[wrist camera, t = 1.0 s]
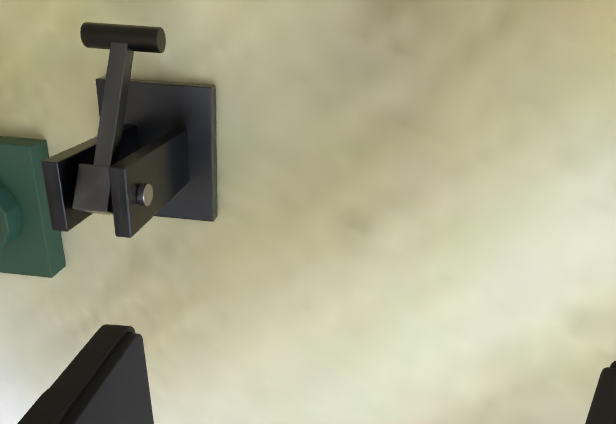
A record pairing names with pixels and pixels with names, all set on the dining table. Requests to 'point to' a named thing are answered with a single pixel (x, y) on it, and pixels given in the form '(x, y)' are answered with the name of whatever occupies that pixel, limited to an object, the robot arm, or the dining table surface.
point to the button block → (26, 211)
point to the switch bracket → (148, 159)
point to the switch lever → (111, 106)
